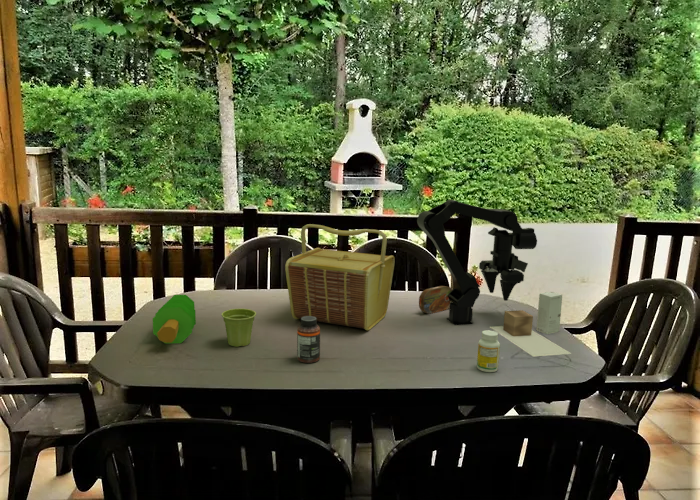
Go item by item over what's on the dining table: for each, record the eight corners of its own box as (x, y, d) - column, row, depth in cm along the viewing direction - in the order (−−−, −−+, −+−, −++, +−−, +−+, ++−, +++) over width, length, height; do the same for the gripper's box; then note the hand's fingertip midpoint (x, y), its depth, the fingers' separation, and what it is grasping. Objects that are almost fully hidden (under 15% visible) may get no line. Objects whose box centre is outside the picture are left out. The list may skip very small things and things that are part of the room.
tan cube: (513, 336, 166) (515, 317, 165) (503, 329, 172) (504, 311, 171) (531, 335, 167) (533, 316, 166) (520, 328, 173) (522, 310, 172)
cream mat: (533, 357, 151) (533, 356, 151) (488, 327, 174) (489, 326, 174) (571, 354, 153) (571, 353, 153) (523, 325, 177) (523, 324, 177)
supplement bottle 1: (305, 353, 149) (306, 313, 147) (324, 358, 146) (325, 317, 144) (292, 360, 144) (292, 318, 142) (311, 365, 141) (312, 323, 139)
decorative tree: (155, 308, 144) (174, 276, 173) (139, 346, 146) (161, 308, 175) (197, 323, 147) (208, 289, 176) (181, 361, 149) (195, 321, 178)
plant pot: (262, 340, 158) (262, 310, 157) (245, 351, 149) (245, 320, 148) (233, 335, 161) (233, 306, 160) (215, 346, 152) (214, 316, 151)
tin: (423, 316, 185) (424, 291, 183) (416, 313, 187) (417, 289, 185) (453, 308, 194) (454, 285, 192) (446, 306, 196) (447, 283, 195)
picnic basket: (281, 323, 173) (281, 228, 167) (316, 302, 197) (318, 218, 191) (369, 338, 162) (372, 236, 157) (395, 314, 186) (399, 225, 180)
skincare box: (547, 335, 169) (551, 296, 166) (535, 331, 172) (538, 293, 170) (559, 332, 172) (563, 294, 170) (547, 327, 176) (551, 290, 173)
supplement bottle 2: (492, 374, 139) (495, 338, 137) (472, 368, 142) (475, 332, 140) (501, 368, 143) (504, 332, 141) (482, 362, 146) (485, 327, 144)
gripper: (541, 254, 170) (536, 303, 173) (510, 243, 188) (506, 288, 191) (508, 255, 167) (504, 305, 170) (480, 244, 185) (476, 289, 188)
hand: (498, 296), depth 180 cm, fingers open, 9 cm apart
